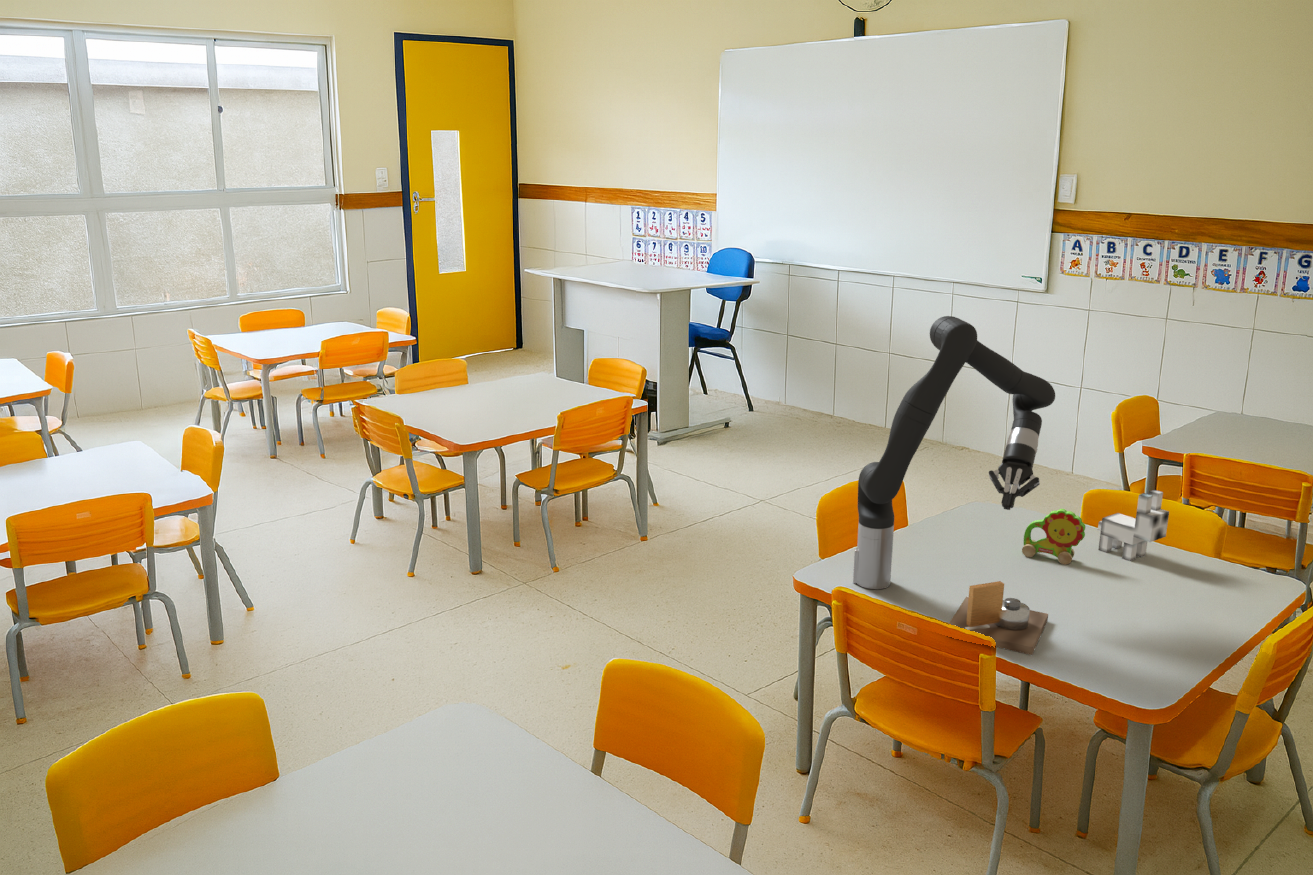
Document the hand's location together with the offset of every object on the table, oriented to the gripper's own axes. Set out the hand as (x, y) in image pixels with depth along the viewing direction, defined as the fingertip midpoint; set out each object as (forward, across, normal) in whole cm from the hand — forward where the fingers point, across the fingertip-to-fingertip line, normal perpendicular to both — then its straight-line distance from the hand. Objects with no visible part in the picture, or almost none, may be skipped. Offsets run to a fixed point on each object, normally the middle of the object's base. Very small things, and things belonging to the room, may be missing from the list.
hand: (1006, 508), depth 248 cm
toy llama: (-18, +25, +55) cm, 63 cm away
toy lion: (-8, +7, +45) cm, 46 cm away
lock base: (+29, +3, +8) cm, 30 cm away
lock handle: (+29, +3, +4) cm, 30 cm away
